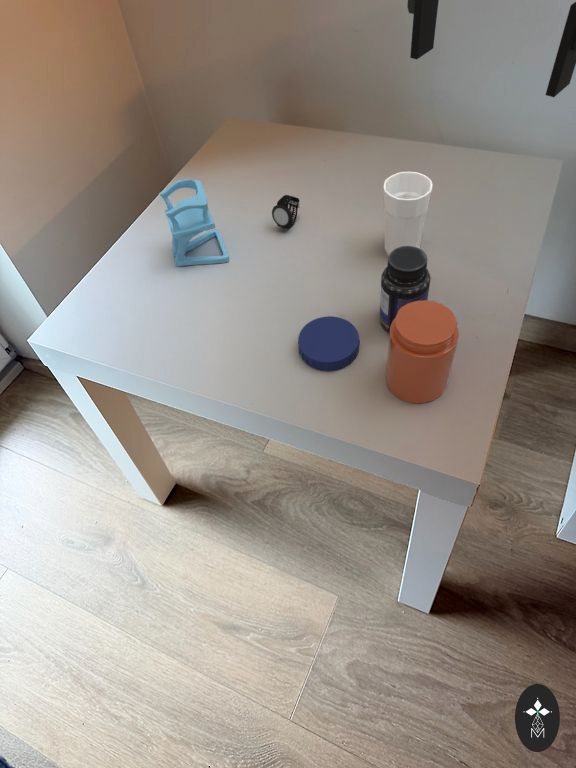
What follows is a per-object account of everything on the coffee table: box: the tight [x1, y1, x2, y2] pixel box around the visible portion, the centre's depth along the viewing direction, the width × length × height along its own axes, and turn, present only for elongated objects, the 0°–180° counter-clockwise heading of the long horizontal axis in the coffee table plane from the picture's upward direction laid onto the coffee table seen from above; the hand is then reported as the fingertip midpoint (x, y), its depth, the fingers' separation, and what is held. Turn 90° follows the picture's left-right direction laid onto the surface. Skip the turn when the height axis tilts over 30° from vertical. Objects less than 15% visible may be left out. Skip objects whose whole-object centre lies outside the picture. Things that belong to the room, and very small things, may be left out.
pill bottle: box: [378, 246, 432, 333], centre depth 69 cm, size 6×6×11 cm
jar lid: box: [297, 315, 361, 372], centre depth 71 cm, size 8×8×2 cm
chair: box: [158, 179, 230, 267], centre depth 82 cm, size 8×8×12 cm
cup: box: [383, 171, 434, 257], centre depth 78 cm, size 7×7×11 cm
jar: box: [385, 300, 460, 404], centre depth 64 cm, size 8×8×11 cm
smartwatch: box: [271, 194, 301, 230], centre depth 86 cm, size 4×5×5 cm
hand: (485, 70), depth 48 cm, fingers open, 13 cm apart
